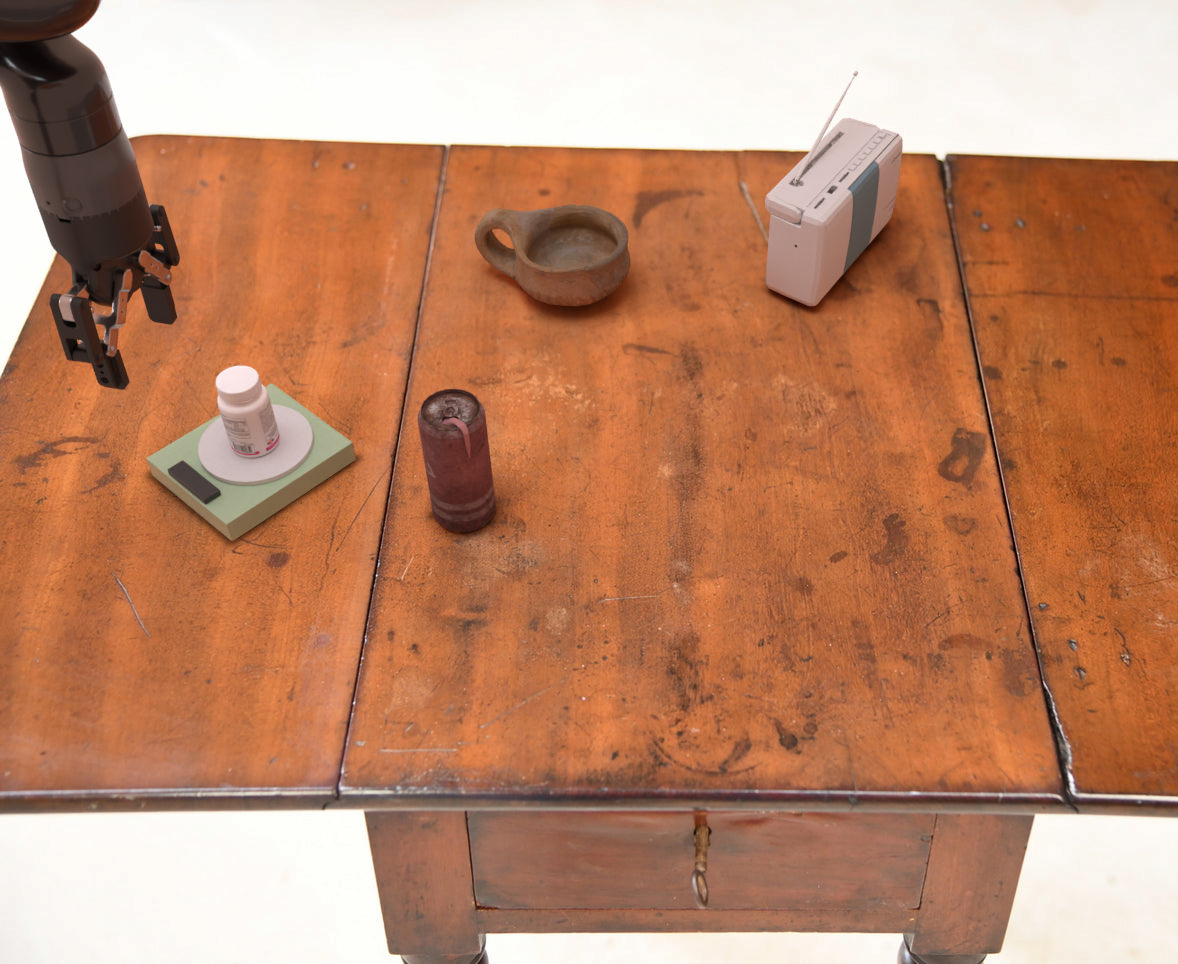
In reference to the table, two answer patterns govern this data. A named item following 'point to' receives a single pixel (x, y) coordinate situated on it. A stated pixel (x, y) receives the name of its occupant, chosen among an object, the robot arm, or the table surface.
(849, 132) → the radio
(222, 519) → the scale
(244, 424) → the pill bottle
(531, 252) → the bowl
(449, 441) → the can
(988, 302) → the table surface
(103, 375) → the robot arm
